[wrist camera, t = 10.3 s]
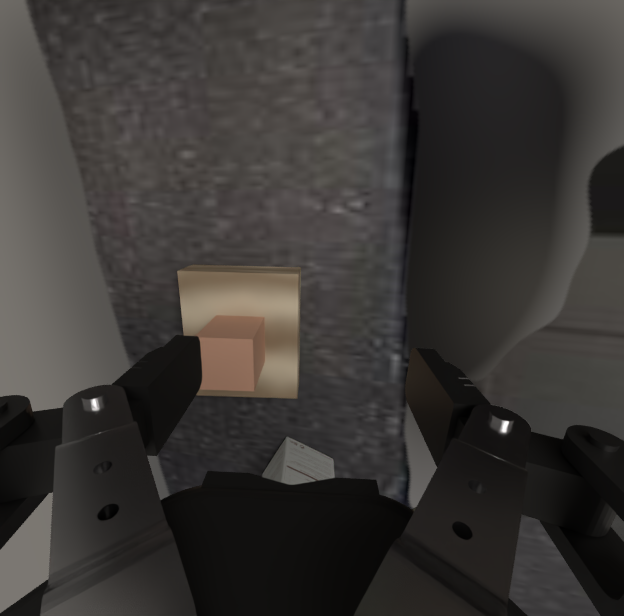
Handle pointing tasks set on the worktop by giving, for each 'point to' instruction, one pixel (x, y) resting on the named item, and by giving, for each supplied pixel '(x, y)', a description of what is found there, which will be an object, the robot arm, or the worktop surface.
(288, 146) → the worktop surface
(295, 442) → the supplement box
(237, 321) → the terracotta block
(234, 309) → the birch base
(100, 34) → the worktop surface
